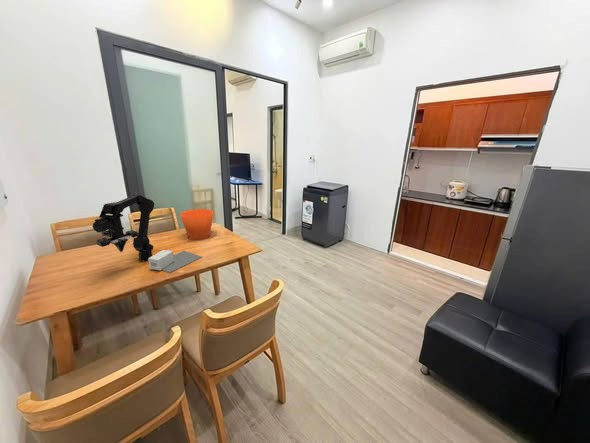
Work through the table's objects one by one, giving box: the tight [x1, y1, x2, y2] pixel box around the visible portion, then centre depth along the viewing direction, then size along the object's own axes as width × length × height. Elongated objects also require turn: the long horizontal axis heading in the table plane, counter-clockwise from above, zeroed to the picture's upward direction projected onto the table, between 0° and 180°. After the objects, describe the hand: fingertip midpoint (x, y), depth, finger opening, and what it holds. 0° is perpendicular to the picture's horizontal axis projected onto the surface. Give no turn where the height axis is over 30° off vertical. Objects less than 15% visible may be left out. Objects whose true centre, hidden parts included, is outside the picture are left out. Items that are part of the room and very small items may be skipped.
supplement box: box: [147, 249, 175, 271], centre depth 147 cm, size 7×7×13 cm
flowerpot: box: [179, 208, 215, 241], centre depth 192 cm, size 25×25×20 cm
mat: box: [161, 250, 203, 274], centre depth 154 cm, size 24×18×1 cm
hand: (121, 251), depth 136 cm, fingers closed
